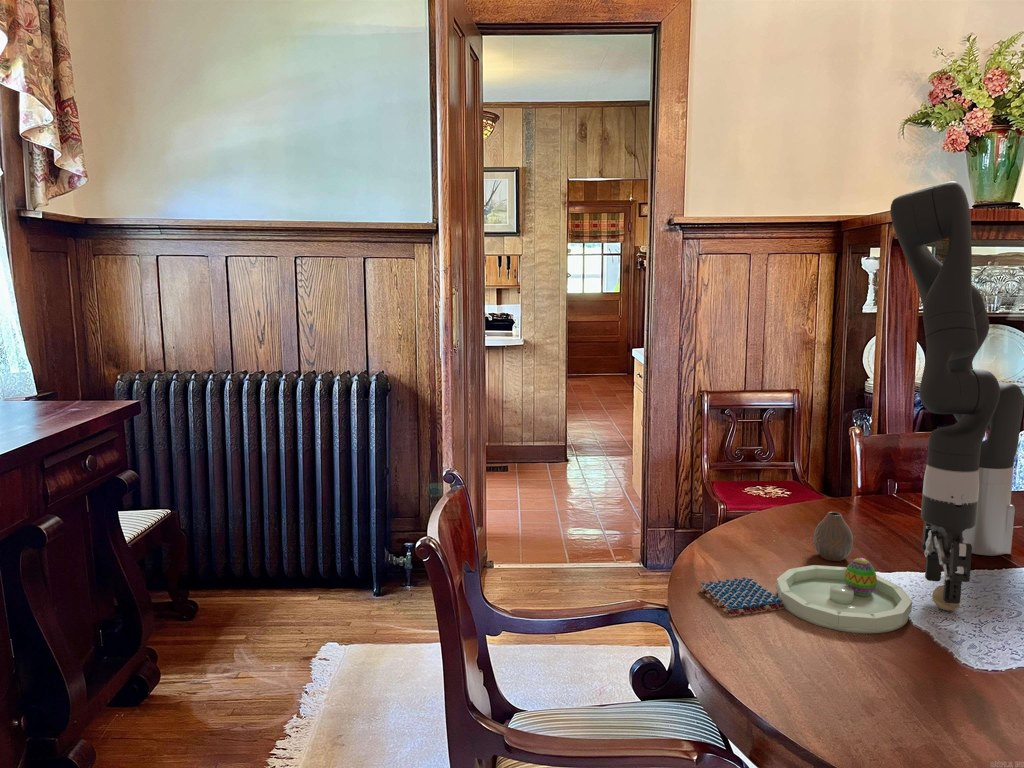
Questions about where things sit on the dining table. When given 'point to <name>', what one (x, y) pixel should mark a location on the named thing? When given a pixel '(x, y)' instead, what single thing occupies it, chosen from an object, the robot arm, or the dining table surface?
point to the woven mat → (741, 596)
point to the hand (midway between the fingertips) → (941, 591)
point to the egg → (861, 577)
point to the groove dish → (837, 616)
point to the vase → (833, 537)
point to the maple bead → (939, 601)
